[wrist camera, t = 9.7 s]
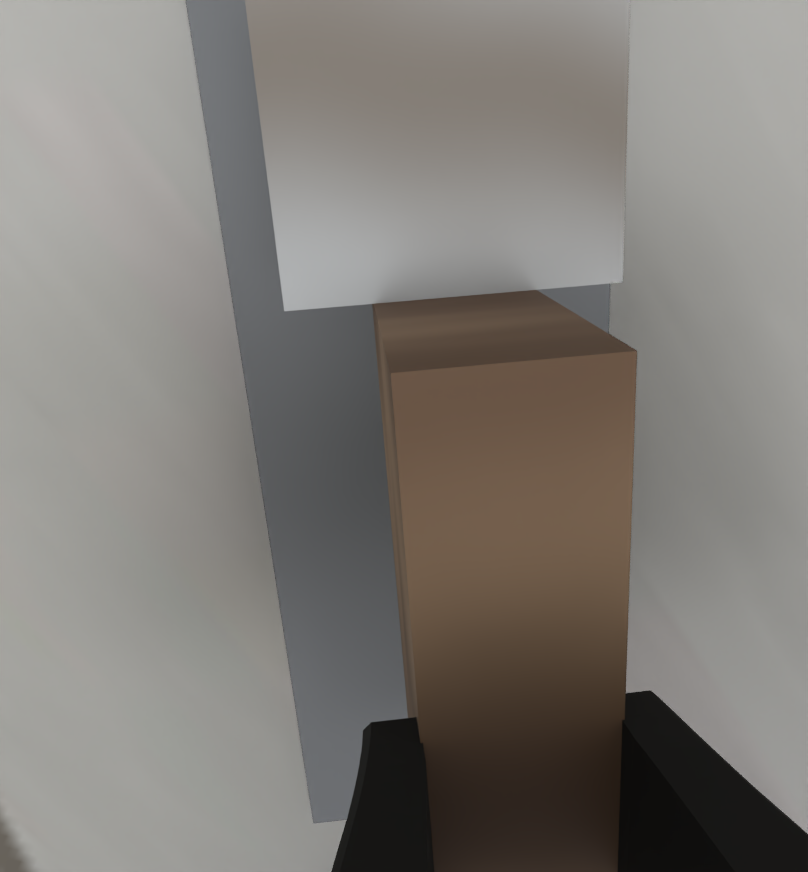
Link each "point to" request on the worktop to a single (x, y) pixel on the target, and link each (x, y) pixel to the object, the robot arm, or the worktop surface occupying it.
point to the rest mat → (313, 439)
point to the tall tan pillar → (480, 377)
